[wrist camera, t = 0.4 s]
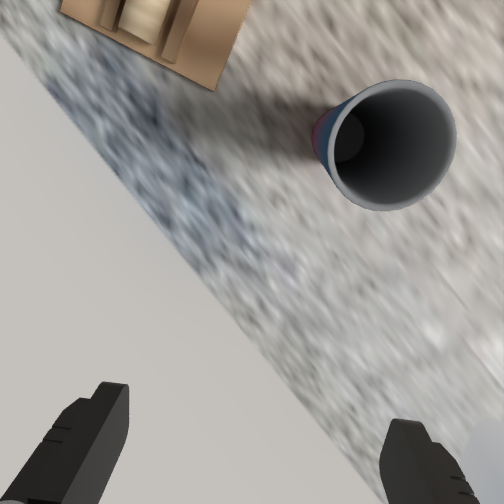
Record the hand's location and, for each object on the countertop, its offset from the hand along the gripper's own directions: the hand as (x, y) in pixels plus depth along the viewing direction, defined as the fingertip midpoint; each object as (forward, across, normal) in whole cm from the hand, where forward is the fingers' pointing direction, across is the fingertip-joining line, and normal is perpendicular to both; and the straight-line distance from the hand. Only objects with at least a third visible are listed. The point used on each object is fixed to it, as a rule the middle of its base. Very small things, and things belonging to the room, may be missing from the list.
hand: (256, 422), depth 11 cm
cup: (+27, -6, -8) cm, 29 cm away
